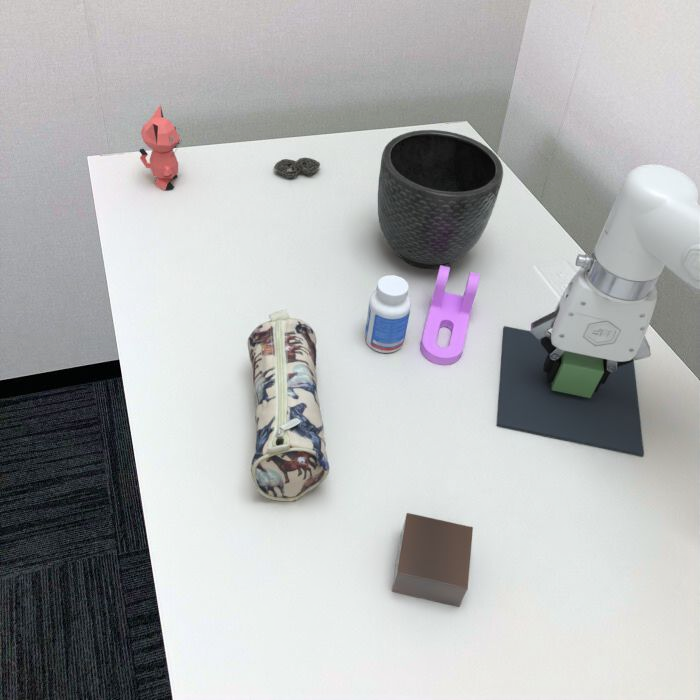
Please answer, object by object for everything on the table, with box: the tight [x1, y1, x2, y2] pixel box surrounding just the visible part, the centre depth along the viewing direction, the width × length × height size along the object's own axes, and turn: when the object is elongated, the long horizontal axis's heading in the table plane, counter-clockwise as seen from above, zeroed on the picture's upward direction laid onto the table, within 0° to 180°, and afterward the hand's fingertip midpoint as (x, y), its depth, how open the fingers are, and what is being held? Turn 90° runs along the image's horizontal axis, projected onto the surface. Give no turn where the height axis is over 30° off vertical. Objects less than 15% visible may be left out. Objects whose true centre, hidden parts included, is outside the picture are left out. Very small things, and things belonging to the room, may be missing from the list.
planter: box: [377, 129, 504, 270], centre depth 108 cm, size 17×17×16 cm
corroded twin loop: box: [273, 157, 321, 179], centre depth 126 cm, size 5×8×1 cm, turn 108°
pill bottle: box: [364, 274, 412, 354], centre depth 96 cm, size 6×5×10 cm
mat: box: [496, 325, 645, 458], centre depth 97 cm, size 18×18×1 cm
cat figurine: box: [138, 103, 183, 191], centre depth 116 cm, size 7×7×12 cm
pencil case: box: [247, 309, 330, 502], centre depth 85 cm, size 22×8×10 cm, turn 6°
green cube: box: [552, 351, 604, 398], centre depth 94 cm, size 5×5×5 cm
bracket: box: [420, 265, 481, 366], centre depth 100 cm, size 13×6×7 cm, turn 166°
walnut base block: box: [391, 512, 474, 608], centre depth 76 cm, size 7×7×4 cm
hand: (571, 378), depth 95 cm, fingers closed on green cube, 5 cm apart
